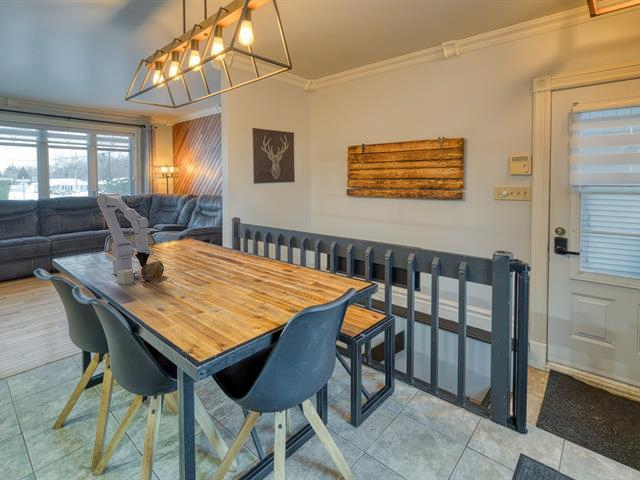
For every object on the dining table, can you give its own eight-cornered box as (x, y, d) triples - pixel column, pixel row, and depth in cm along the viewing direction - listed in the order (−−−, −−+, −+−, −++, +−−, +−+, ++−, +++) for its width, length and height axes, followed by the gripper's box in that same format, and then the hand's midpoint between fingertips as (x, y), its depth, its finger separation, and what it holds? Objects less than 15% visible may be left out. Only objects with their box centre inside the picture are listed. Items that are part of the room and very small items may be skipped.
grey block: (117, 283, 176) (116, 271, 175) (127, 280, 181) (126, 268, 180) (124, 284, 174) (123, 272, 173) (133, 281, 179) (132, 270, 178)
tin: (146, 282, 177) (144, 266, 176) (140, 282, 178) (139, 265, 176) (164, 274, 192) (163, 259, 190) (159, 274, 192) (158, 259, 191)
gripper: (125, 241, 184) (127, 266, 186) (144, 243, 178) (146, 269, 180) (137, 239, 190) (139, 264, 192) (156, 241, 184) (158, 266, 186)
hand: (143, 266), depth 187 cm, fingers closed
